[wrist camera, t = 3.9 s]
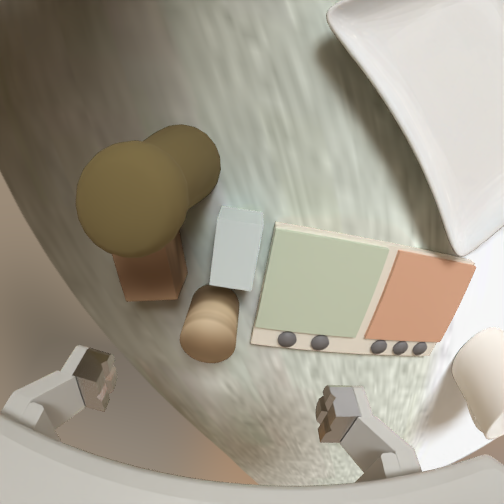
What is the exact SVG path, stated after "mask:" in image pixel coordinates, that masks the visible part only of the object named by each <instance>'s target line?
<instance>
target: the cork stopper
mask: <svg viewBox="0 0 504 504" xmlns="http://www.w3.org/2000/svg"><path fill="white" fill-rule="evenodd" d="M238 314H239V300H238V298H237V296H236V295H235V293H234V292H233V291H232V290H230V289H229V288H225V287H219V286H213V285H209V284H208V285H205V286H202V287H201V288H199V289H198V290H197V291H196V292H195V293H194V295H193V298H192V301H191V304H190V307H189V310H188V313H187V316H186V319H185V322H184V325H183V329H182V332H181V335H180V343H181V346H182V348H183V350H184V351H185V352H186V353H187V354H188V355H189V356H190V357H192V358H194V359H196V360H198V361H201V362H205V363H217V362H221V361H224V360H226V359H228V358H229V357H230V356H231V355H232V354H233V352H234V350H235V345H236V335H237V324H238Z"/></svg>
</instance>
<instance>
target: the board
mask: <svg viewBox="0 0 504 504" xmlns="http://www.w3.org/2000/svg"><path fill="white" fill-rule="evenodd" d="M474 264H475V263H474V262H473V261H472V260H470V259H466V258H461V257H457V256H452V255H448V254H443V253H439V252H434V251H429V250H424V249H420V248H415V247H410V246H405V245H400V244H395V243H390V242H385V241H380V240H375V239H370V238H365V237H359V236H354V235H349V234H343V233H338V232H333V231H327V230H322V229H316V228H310V227H305V226H299V225H293V224H287V223H282V222H276V221H275V226H274V231H273V236H272V241H271V245H270V250H269V255H268V260H267V265H266V269H265V274H264V279H263V284H262V288H261V293H260V298H259V303H258V307H257V312H256V317H255V321H254V326H253V330H252V335H251V344H258V345H266V346H275V347H284V348H293V349H303V350H314V351H326V352H339V353H355V354H374V355H404V356H429V355H430V354H431V352H432V350H433V348H434V347H435V345H436V343H437V342H440V341H441V339H442V337H443V336H444V334H445V332H446V330H447V328H448V326H449V324H450V323H451V321H452V319H453V317H454V315H455V313H456V311H457V309H458V307H459V305H460V303H461V300H462V298H463V296H464V294H465V292H466V290H467V287H468V285H469V283H470V281H471V278H472V276H473V274H474V271H475V269H476V266H474Z"/></svg>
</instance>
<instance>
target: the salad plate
mask: <svg viewBox="0 0 504 504" xmlns="http://www.w3.org/2000/svg"><path fill="white" fill-rule="evenodd" d="M326 19H327V23H328V25H329V27H330V28H331V30H332V31H333V33H334V34H335V36H336V37H337V39H338V40H339V41H340V42H341V44H342V45H343V46H344V48H345V49H346V50H347V52H348V53H349V54H350V56H351V57H352V58H353V60H354V61H355V62H356V63H357V65H358V66H359V67H360V68H361V70H362V71H363V72H364V74H365V75H366V77H367V78H368V79H369V81H370V82H371V84H372V85H373V86H374V88H375V89H376V91H377V92H378V94H379V95H380V97H381V98H382V100H383V101H384V103H385V104H386V106H387V107H388V109H389V111H390V112H391V114H392V115H393V117H394V119H395V120H396V122H397V124H398V125H399V127H400V129H401V131H402V132H403V134H404V136H405V138H406V140H407V141H408V143H409V145H410V147H411V149H412V151H413V153H414V155H415V157H416V159H417V161H418V163H419V165H420V167H421V169H422V171H423V173H424V176H425V178H426V180H427V182H428V185H429V187H430V190H431V192H432V194H433V197H434V199H435V202H436V205H437V208H438V211H439V213H440V216H441V219H442V222H443V225H444V228H445V231H446V234H447V237H448V240H449V242H450V244H451V247H452V249H453V250H454V252H455V253H456V254H457V255H458V256H460V257H463V256H466V255H467V254H469V253H470V252H472V251H473V250H475V249H476V248H477V247H479V246H480V245H481V244H482V243H484V242H485V241H486V240H488V239H489V238H490V237H491V236H492V235H493V234H495V233H496V232H497V231H498V230H499V229H500V228H502V227H503V226H504V0H342V1H340V2H338V3H336V4H335V5H333V6H332V7H331V8H330V9H329V10H328V11H327V14H326Z"/></svg>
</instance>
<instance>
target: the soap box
mask: <svg viewBox="0 0 504 504" xmlns="http://www.w3.org/2000/svg"><path fill="white" fill-rule="evenodd" d="M263 227H264V219H263V212H259V211H253V210H246V209H240V208H234V207H227V206H222V207H221V210H220V213H219V215H218V218H217V226H216V234H215V241H214V250H213V258H212V266H211V275H210V283H209V285H213V286H219V287H225V288H232V289H239V290H245V291H252V285H253V280H254V275H255V270H256V264H257V259H258V254H259V249H260V243H261V238H262V233H263Z"/></svg>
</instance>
